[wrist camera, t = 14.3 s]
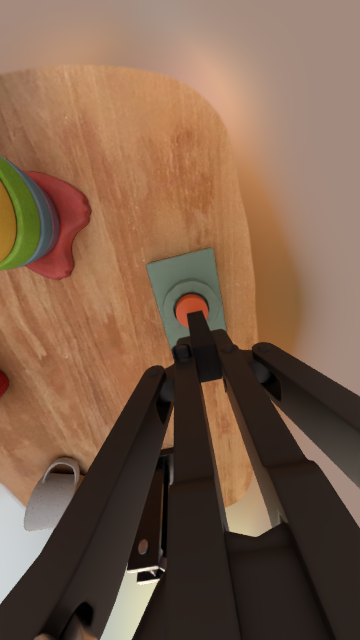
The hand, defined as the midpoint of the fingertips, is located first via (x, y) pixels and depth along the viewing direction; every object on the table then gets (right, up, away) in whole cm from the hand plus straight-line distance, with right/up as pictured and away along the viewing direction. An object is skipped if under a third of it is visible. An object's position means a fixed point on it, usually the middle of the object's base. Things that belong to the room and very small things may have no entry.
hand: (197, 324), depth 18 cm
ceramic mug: (-25, -31, +21) cm, 45 cm away
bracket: (-6, -30, +21) cm, 37 cm away
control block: (0, +3, +8) cm, 8 cm away
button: (0, +2, +4) cm, 5 cm away
